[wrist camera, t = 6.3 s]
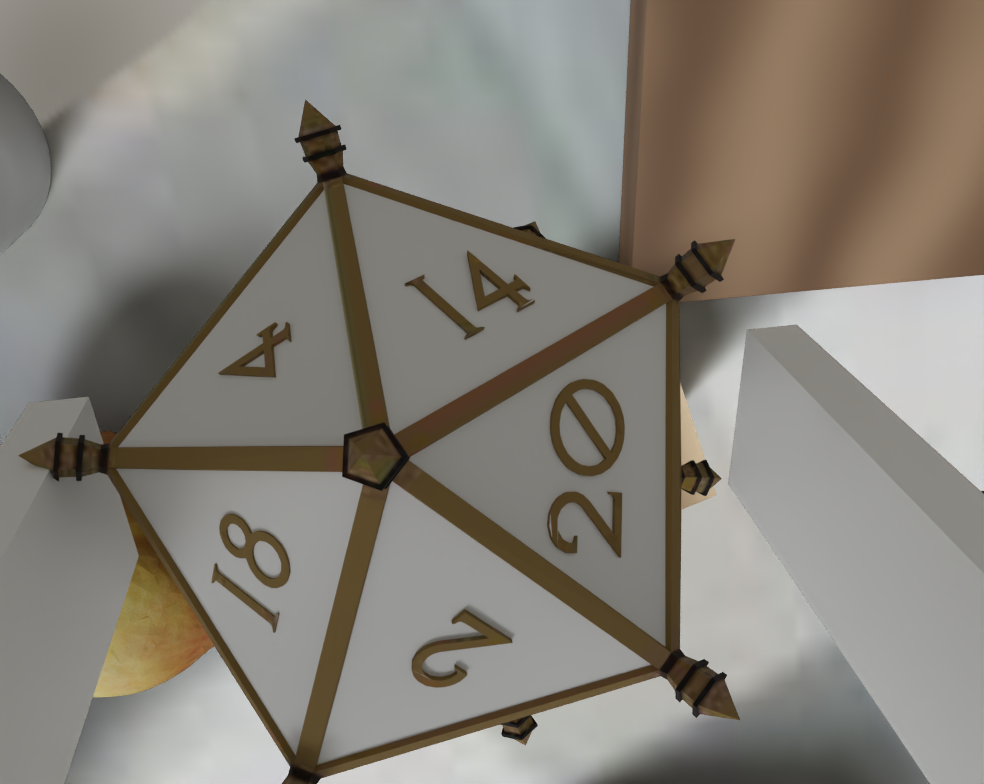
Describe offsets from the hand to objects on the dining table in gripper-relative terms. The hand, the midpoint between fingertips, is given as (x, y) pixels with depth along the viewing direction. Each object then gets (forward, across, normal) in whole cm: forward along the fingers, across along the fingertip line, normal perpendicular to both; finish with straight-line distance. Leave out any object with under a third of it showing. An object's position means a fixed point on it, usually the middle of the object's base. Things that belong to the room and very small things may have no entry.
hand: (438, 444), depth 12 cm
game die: (+4, 0, 0) cm, 4 cm away
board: (+16, +14, +2) cm, 22 cm away
